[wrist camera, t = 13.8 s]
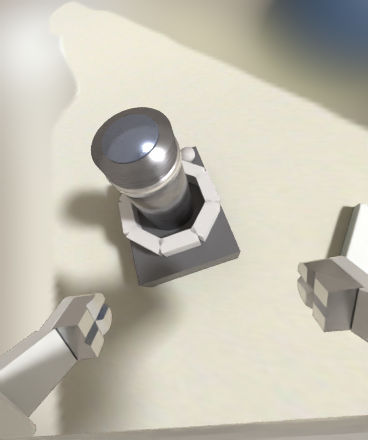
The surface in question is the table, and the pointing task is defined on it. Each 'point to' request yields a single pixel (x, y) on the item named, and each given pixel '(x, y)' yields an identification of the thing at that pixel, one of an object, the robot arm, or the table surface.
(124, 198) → the octagonal socket base
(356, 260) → the external hard drive
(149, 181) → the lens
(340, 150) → the table surface
